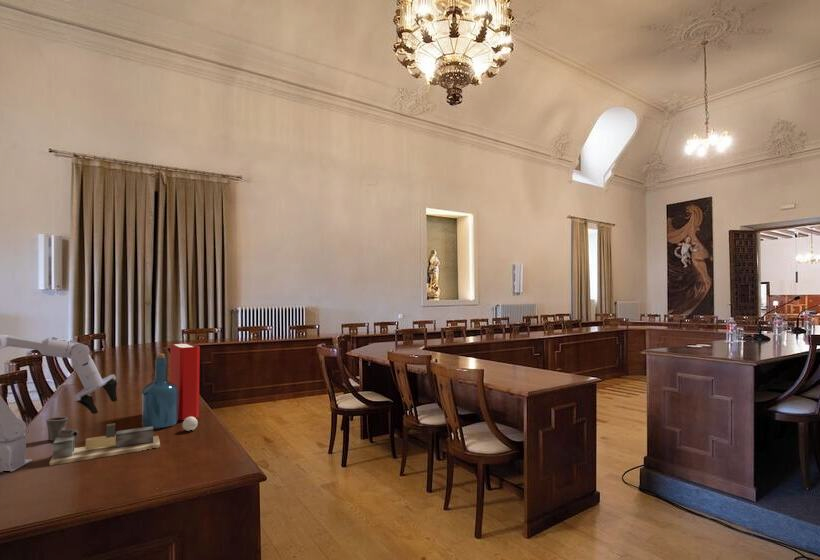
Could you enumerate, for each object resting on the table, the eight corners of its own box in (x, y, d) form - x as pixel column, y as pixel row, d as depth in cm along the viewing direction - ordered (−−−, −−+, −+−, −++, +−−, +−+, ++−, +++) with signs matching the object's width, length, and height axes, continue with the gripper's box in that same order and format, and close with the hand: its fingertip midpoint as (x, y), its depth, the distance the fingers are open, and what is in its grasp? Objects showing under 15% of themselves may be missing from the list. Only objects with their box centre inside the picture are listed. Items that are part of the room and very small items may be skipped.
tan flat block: (85, 449, 151) (86, 429, 151) (86, 447, 153) (86, 426, 154) (151, 439, 161) (151, 420, 161) (151, 437, 164) (151, 418, 164)
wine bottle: (169, 419, 196) (170, 351, 197) (183, 424, 187) (184, 353, 189) (135, 426, 185) (136, 354, 186) (148, 432, 177) (149, 357, 178)
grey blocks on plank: (49, 465, 142) (50, 445, 142) (55, 454, 152) (55, 435, 153) (160, 447, 159) (160, 429, 159) (158, 438, 169) (158, 421, 169)
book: (169, 409, 214) (170, 342, 215) (187, 406, 219) (188, 341, 220) (179, 421, 192) (180, 347, 193) (199, 418, 197) (200, 346, 198)
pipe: (67, 443, 164) (68, 421, 164) (40, 441, 167) (40, 420, 167) (83, 438, 170) (83, 417, 170) (56, 436, 173) (56, 415, 173)
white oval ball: (180, 433, 175) (180, 419, 176) (184, 429, 181) (184, 415, 181) (201, 431, 178) (201, 417, 178) (204, 427, 183) (204, 414, 183)
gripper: (75, 384, 150) (93, 418, 153) (114, 363, 163) (129, 395, 166) (62, 385, 152) (80, 419, 156) (102, 364, 165) (117, 396, 169)
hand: (105, 406), depth 161 cm, fingers open, 7 cm apart
